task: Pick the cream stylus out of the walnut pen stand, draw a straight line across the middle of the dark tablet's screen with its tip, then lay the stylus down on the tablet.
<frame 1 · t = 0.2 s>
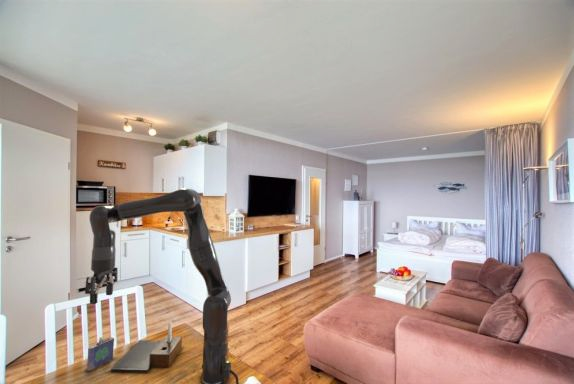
hand: (101, 299, 98), 29 cm above the table, tool pointing down, fingers open, 8 cm apart
pen stand: (166, 356, 110), on the table
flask: (100, 365, 103), on the table
stylus: (168, 353, 112), resting in pen stand
tablet: (142, 356, 110), on the table
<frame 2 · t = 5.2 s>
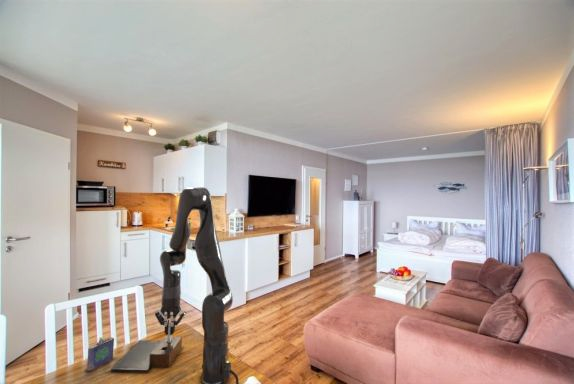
hand: (169, 333, 112), 8 cm above the table, tool pointing down, fingers closed on stylus, 1 cm apart
stylus: (168, 353, 112), resting in pen stand, touching gripper
everything else where it was.
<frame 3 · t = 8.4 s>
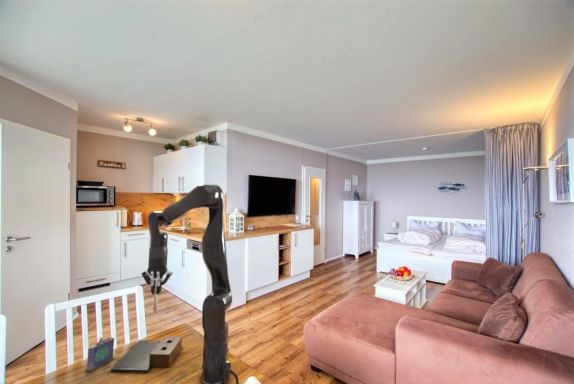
hand: (156, 293, 115), 25 cm above the table, tool pointing down, fingers closed on stylus, 1 cm apart
stylus: (154, 312, 114), point 17 cm above the table, touching gripper
everything else where it was.
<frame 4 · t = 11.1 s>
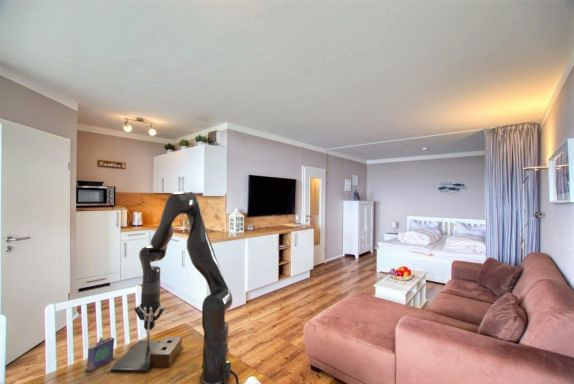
hand: (149, 328, 114), 10 cm above the table, tool pointing down, fingers closed on stylus, 1 cm apart
stylus: (148, 347, 114), point 1 cm above the table, touching gripper, tablet
everything else where it was.
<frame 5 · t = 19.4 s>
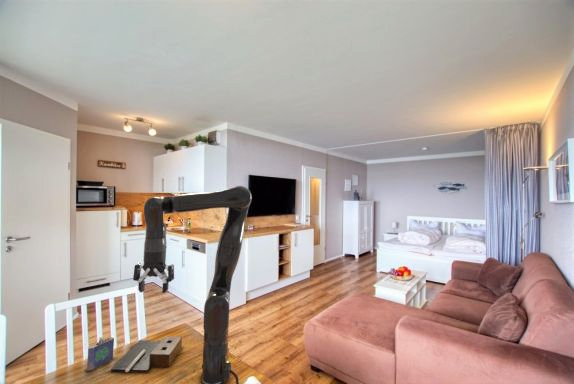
hand: (153, 292, 96), 33 cm above the table, tool pointing down, fingers open, 8 cm apart
stylus: (144, 350, 111), point 2 cm above the table, tilted 90°, touching tablet
everything else where it was.
at the end: stylus inside the target area on the tablet (1.2 cm from its centre), point 1.8 cm above the tablet's base; stylus touching tablet; the gripper is holding nothing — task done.
